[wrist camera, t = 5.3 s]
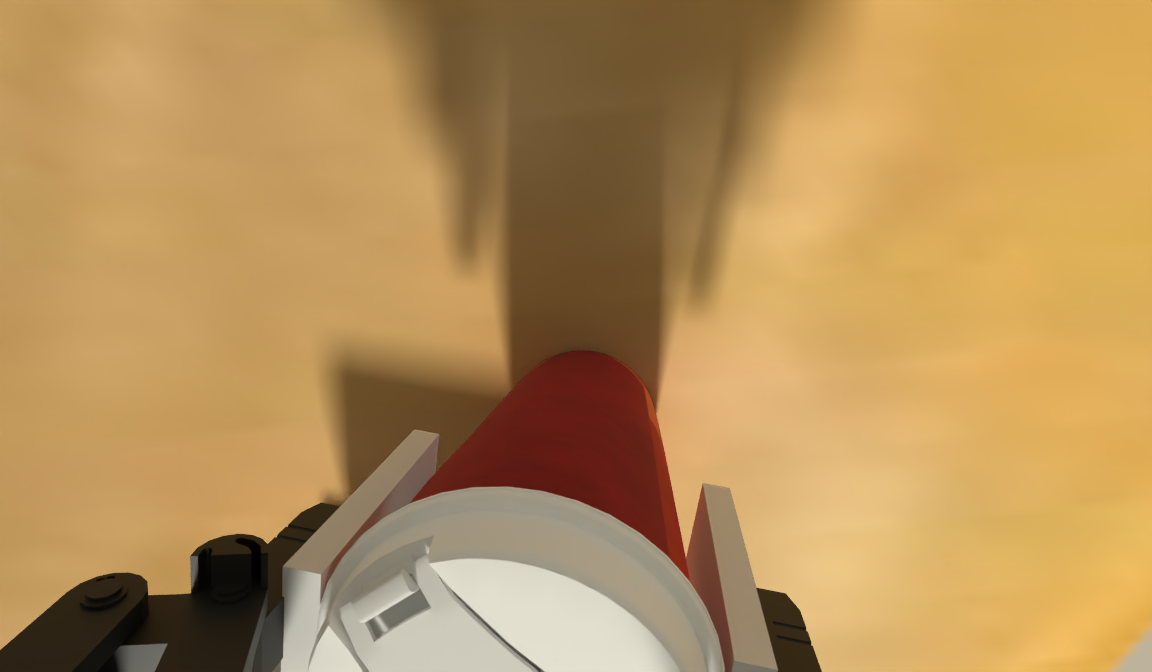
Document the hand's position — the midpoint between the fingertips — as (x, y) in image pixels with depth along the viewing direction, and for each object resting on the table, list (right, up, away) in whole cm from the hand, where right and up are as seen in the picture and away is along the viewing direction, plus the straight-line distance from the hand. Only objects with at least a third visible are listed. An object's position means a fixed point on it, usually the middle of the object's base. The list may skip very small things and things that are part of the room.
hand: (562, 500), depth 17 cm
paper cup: (+1, +2, +6) cm, 6 cm away
